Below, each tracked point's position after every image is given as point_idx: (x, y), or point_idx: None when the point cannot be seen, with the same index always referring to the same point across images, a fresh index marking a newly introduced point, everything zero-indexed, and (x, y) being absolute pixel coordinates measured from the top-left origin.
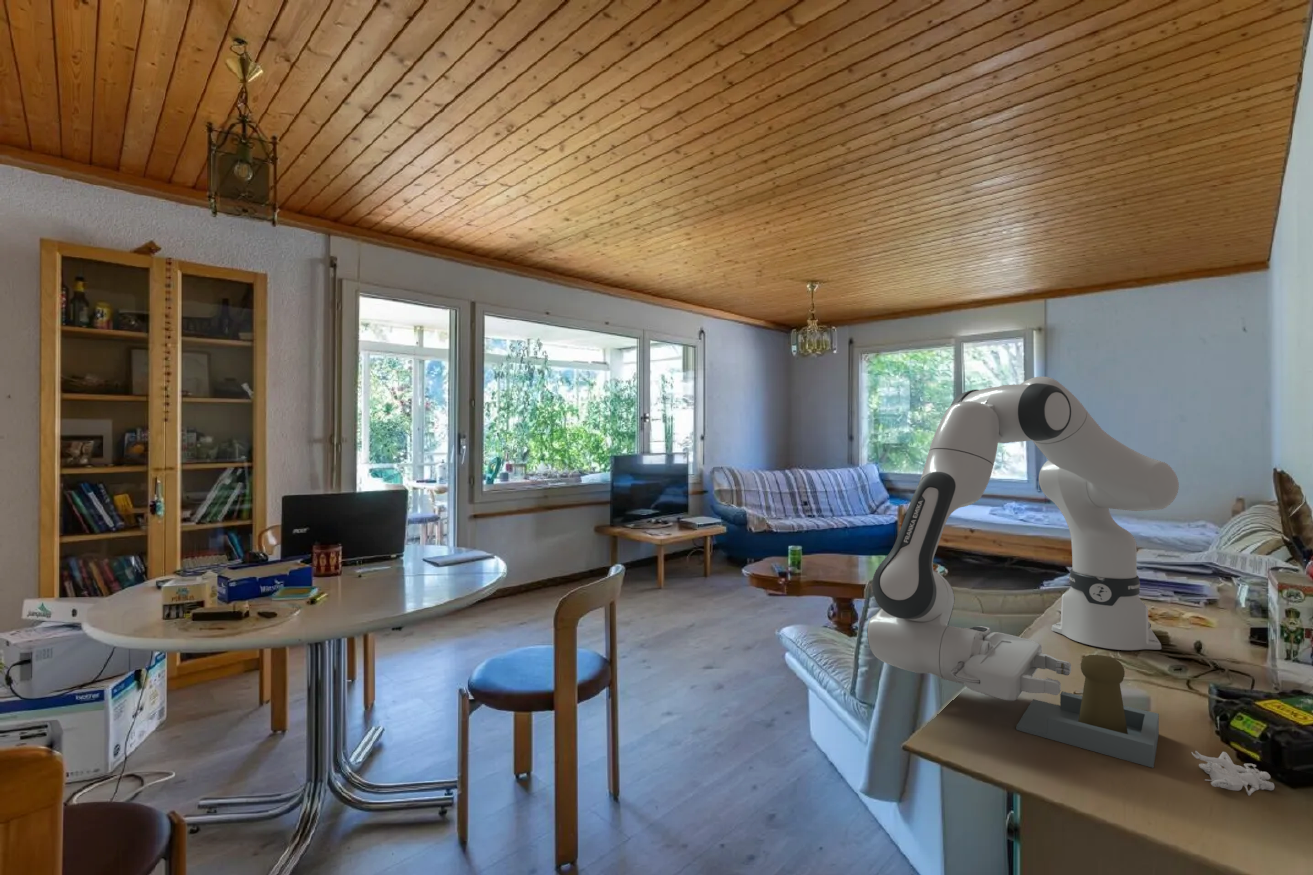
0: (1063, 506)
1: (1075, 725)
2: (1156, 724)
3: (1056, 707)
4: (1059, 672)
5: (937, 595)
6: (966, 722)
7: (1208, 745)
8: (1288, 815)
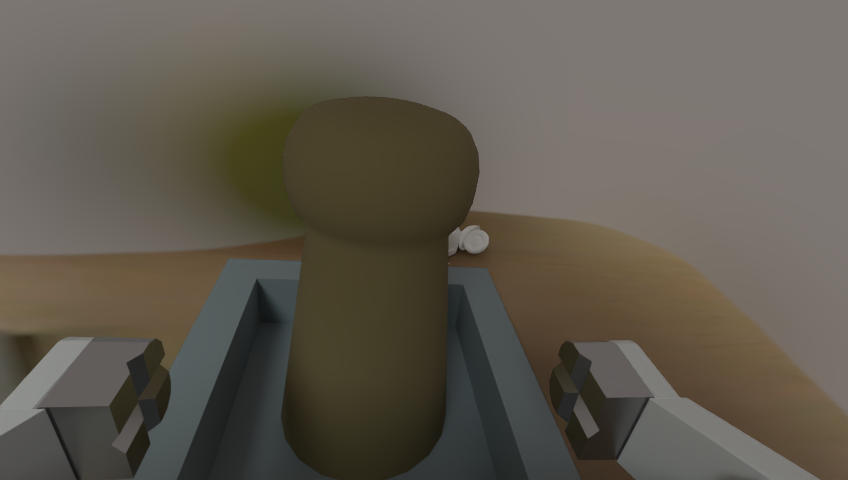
0: None
1: (551, 416)
2: None
3: None
4: (141, 447)
5: None
6: None
7: (252, 253)
8: (473, 216)
